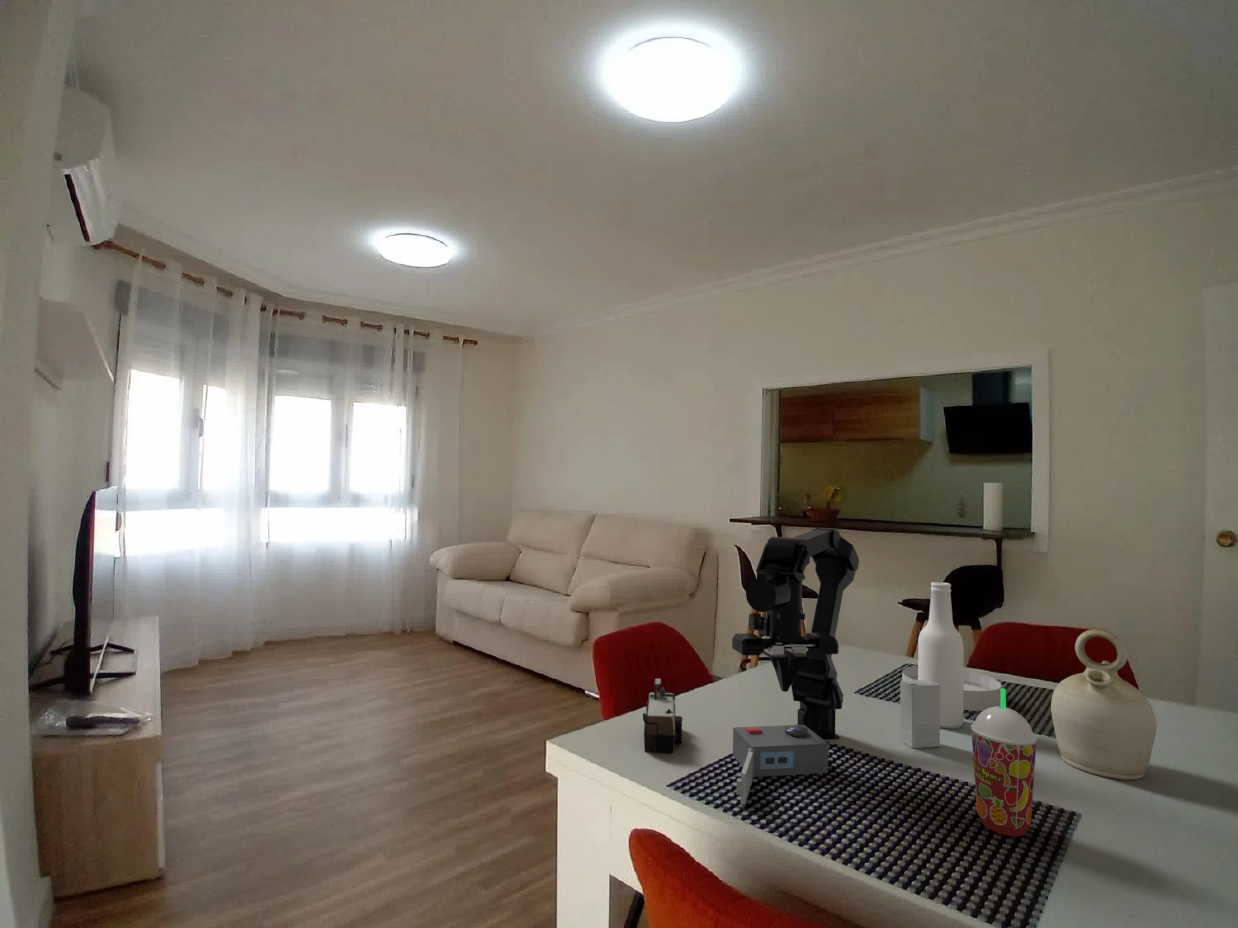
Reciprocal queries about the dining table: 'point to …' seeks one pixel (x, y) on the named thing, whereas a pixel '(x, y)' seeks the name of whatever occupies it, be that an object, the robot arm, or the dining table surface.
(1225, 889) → the dining table surface
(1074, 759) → the jug
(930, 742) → the skincare box
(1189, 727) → the dining table surface
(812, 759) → the grey appliance box
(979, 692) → the dish
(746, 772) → the side door
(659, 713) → the camera
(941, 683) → the alcohol
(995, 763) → the smoothie
